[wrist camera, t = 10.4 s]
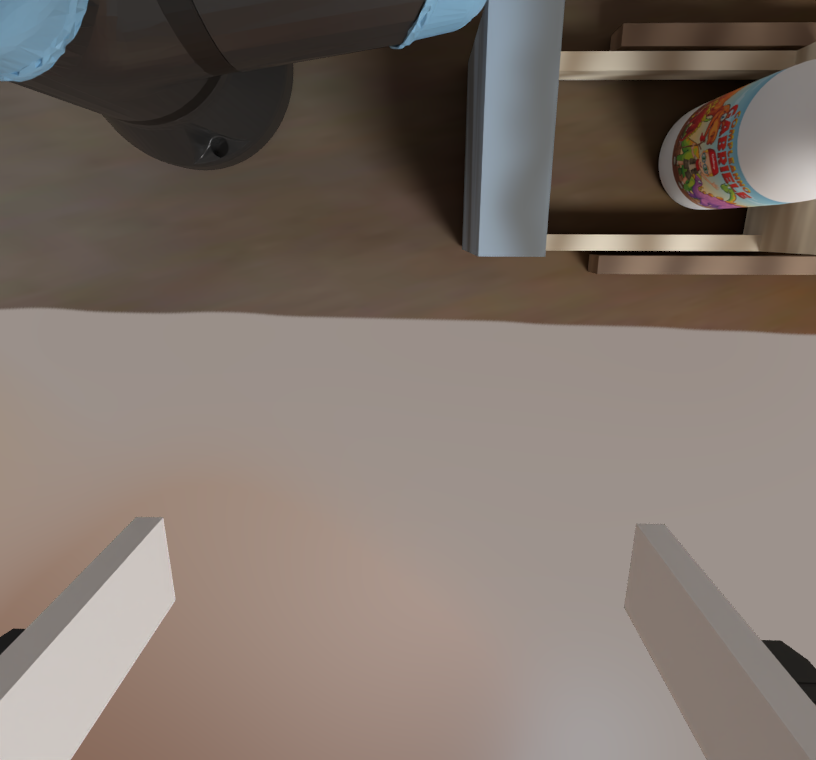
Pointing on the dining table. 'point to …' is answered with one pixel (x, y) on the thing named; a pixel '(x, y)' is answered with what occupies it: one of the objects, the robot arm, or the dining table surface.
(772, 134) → the milk bottle
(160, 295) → the dining table surface
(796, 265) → the dark wooden tray
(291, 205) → the dining table surface
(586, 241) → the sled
